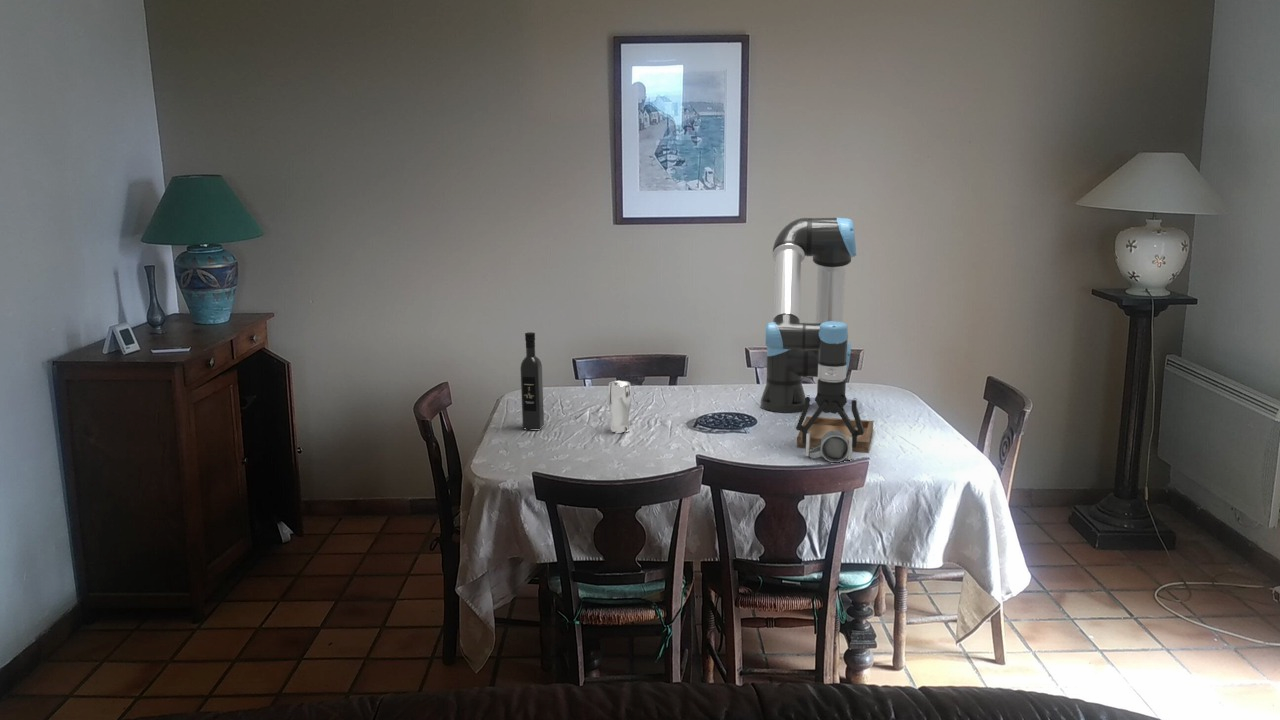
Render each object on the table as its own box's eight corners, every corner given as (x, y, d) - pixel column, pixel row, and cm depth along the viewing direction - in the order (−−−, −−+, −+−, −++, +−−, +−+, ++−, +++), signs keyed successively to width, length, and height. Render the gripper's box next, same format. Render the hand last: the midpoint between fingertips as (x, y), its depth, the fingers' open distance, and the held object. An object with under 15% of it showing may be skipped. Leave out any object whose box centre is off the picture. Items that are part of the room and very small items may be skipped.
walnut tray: (796, 446, 269) (797, 436, 268) (806, 425, 289) (806, 416, 289) (868, 452, 263) (868, 442, 262) (872, 430, 284) (873, 420, 283)
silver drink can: (635, 429, 288) (634, 381, 285) (625, 435, 282) (624, 387, 278) (615, 426, 291) (614, 379, 287) (605, 432, 285) (604, 384, 281)
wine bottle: (539, 431, 287) (536, 335, 280) (521, 430, 288) (517, 334, 281) (545, 425, 292) (541, 331, 286) (527, 425, 293) (523, 331, 287)
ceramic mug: (846, 453, 262) (847, 427, 260) (849, 463, 254) (849, 436, 252) (808, 453, 263) (808, 427, 262) (809, 462, 256) (809, 435, 254)
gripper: (786, 379, 253) (784, 457, 258) (875, 385, 247) (871, 464, 252) (790, 373, 260) (788, 448, 265) (876, 378, 254) (873, 455, 259)
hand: (828, 456), depth 258 cm, fingers closed on ceramic mug, 11 cm apart
